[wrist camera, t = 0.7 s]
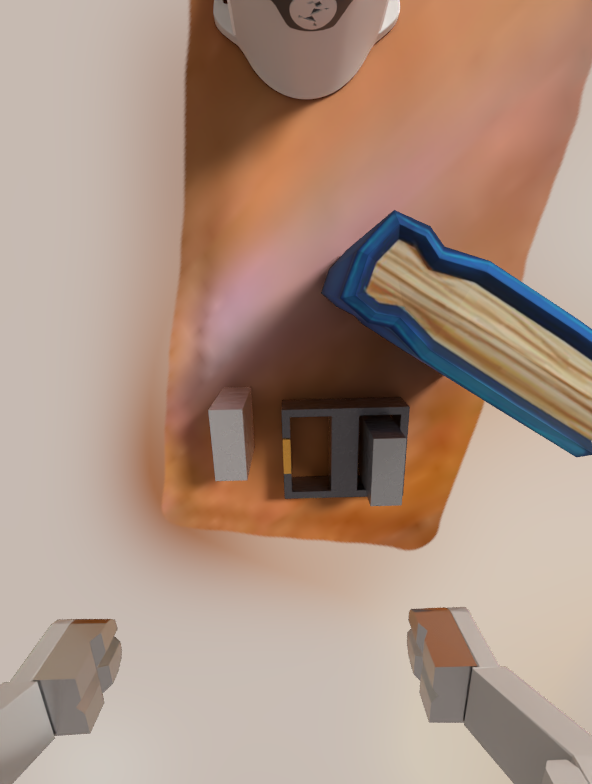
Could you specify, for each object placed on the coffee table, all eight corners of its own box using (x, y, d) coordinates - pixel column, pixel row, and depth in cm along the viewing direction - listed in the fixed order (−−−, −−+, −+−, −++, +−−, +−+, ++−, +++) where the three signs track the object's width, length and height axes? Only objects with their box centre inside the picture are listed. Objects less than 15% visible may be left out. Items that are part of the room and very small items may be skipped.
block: (223, 387, 48) (208, 410, 40) (251, 386, 48) (242, 409, 40) (228, 447, 51) (215, 481, 42) (254, 446, 51) (247, 480, 42)
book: (309, 292, 45) (328, 303, 21) (339, 239, 43) (399, 187, 19) (445, 376, 48) (595, 469, 24) (478, 331, 46) (675, 384, 23)
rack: (282, 400, 49) (280, 425, 40) (400, 397, 49) (423, 421, 40) (285, 484, 53) (284, 524, 44) (394, 481, 53) (414, 520, 44)
